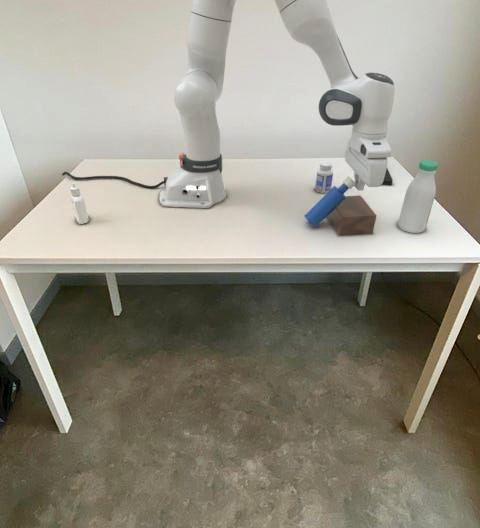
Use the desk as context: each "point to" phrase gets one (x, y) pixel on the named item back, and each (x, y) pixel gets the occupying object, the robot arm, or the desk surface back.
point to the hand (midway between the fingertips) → (358, 188)
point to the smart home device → (387, 178)
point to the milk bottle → (419, 198)
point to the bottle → (328, 203)
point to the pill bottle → (324, 177)
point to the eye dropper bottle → (78, 205)
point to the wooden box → (353, 217)
